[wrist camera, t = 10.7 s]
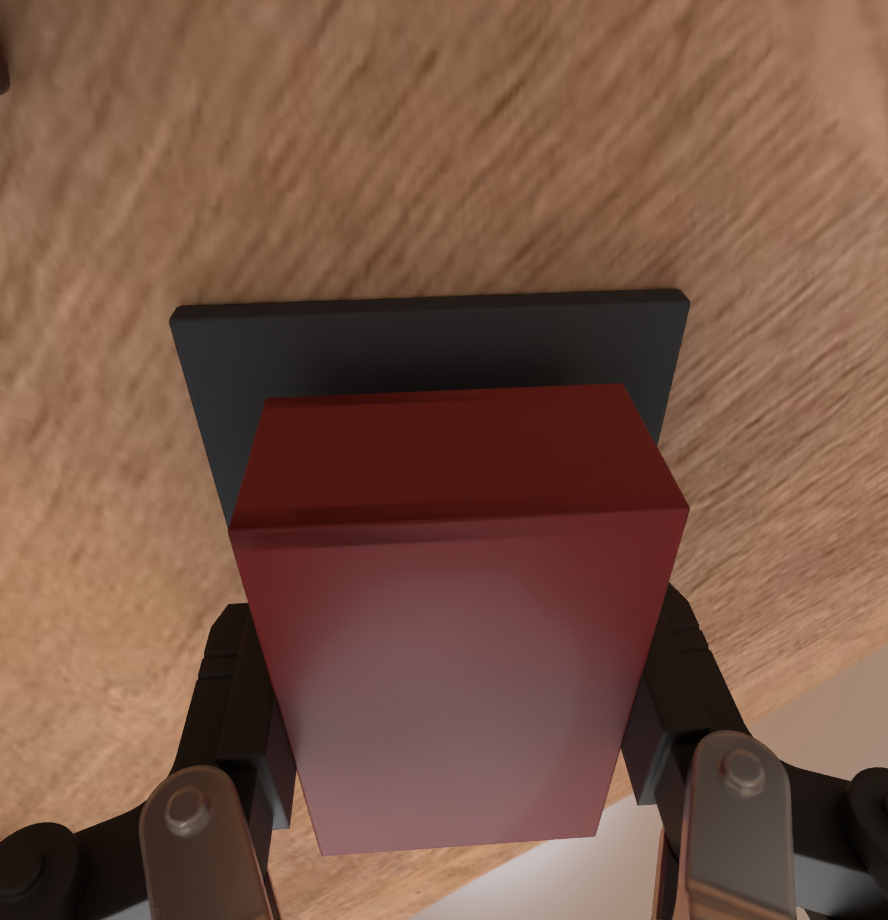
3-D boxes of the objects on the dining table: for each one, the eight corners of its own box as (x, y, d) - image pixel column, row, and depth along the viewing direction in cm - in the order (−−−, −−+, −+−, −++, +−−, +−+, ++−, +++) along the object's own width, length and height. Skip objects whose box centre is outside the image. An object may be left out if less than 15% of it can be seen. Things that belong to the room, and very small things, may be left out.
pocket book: (264, 397, 10) (226, 531, 8) (623, 381, 10) (692, 508, 8) (331, 720, 16) (321, 857, 13) (565, 705, 16) (596, 837, 13)
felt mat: (175, 305, 12) (166, 319, 11) (680, 287, 12) (692, 301, 11) (271, 655, 18) (268, 674, 17) (604, 636, 18) (609, 654, 18)
